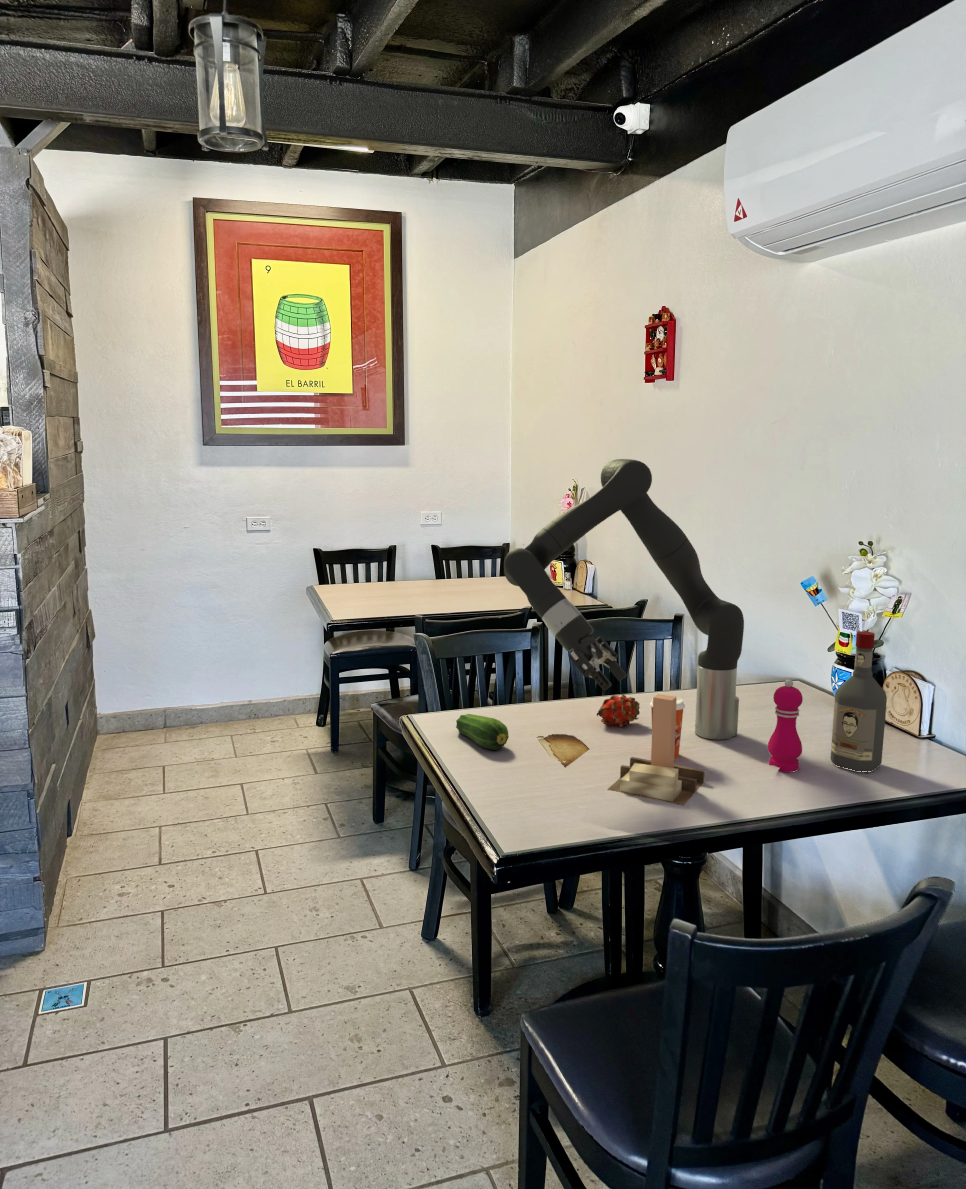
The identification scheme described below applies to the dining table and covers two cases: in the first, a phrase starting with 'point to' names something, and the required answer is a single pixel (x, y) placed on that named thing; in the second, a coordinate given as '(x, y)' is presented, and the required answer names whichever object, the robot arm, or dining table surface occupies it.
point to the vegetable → (483, 730)
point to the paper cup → (678, 726)
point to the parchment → (563, 747)
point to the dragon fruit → (619, 710)
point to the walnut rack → (687, 775)
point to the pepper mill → (786, 729)
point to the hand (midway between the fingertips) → (615, 683)
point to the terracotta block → (663, 730)
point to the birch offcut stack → (652, 781)
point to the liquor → (859, 713)
